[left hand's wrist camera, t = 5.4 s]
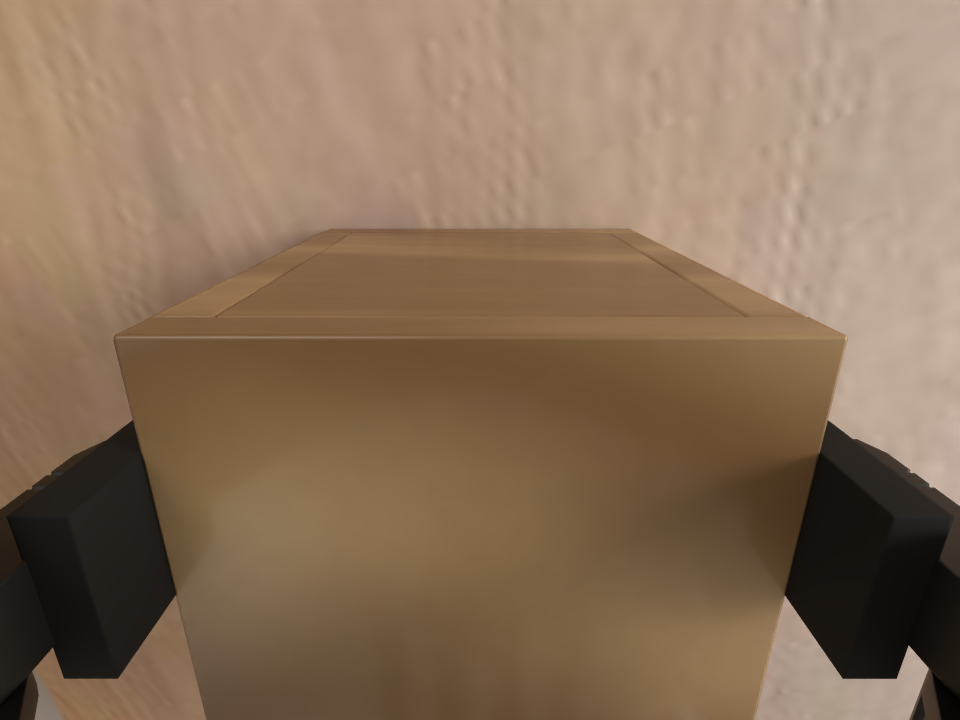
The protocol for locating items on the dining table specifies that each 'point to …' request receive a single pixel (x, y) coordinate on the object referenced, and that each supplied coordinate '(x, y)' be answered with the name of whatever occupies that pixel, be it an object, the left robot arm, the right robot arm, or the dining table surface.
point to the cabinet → (480, 476)
